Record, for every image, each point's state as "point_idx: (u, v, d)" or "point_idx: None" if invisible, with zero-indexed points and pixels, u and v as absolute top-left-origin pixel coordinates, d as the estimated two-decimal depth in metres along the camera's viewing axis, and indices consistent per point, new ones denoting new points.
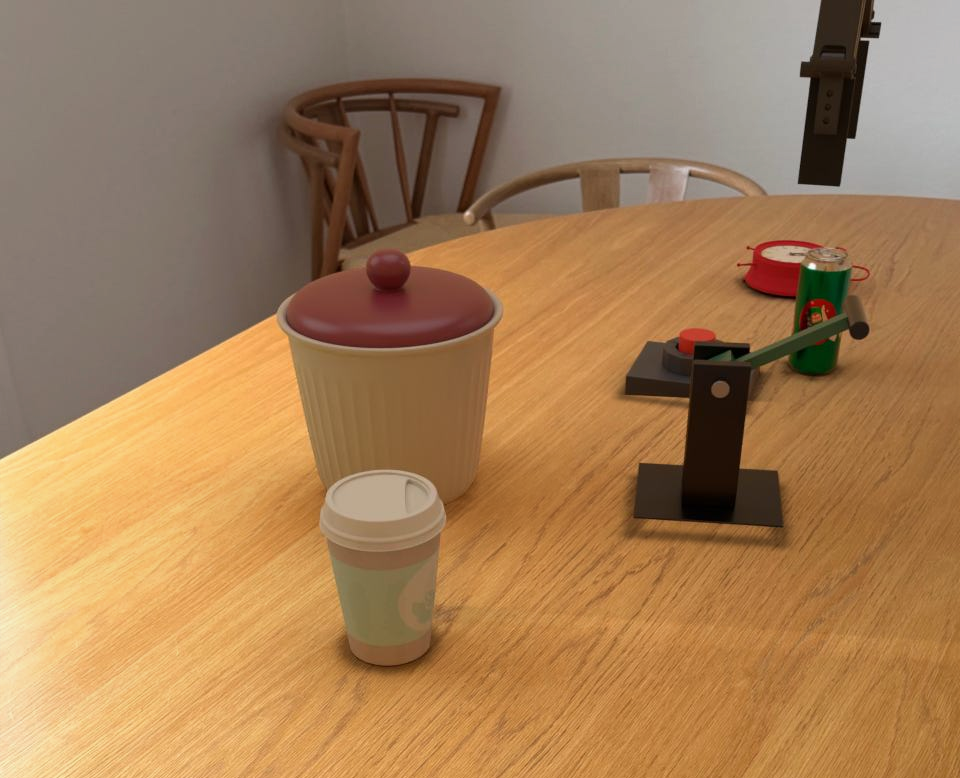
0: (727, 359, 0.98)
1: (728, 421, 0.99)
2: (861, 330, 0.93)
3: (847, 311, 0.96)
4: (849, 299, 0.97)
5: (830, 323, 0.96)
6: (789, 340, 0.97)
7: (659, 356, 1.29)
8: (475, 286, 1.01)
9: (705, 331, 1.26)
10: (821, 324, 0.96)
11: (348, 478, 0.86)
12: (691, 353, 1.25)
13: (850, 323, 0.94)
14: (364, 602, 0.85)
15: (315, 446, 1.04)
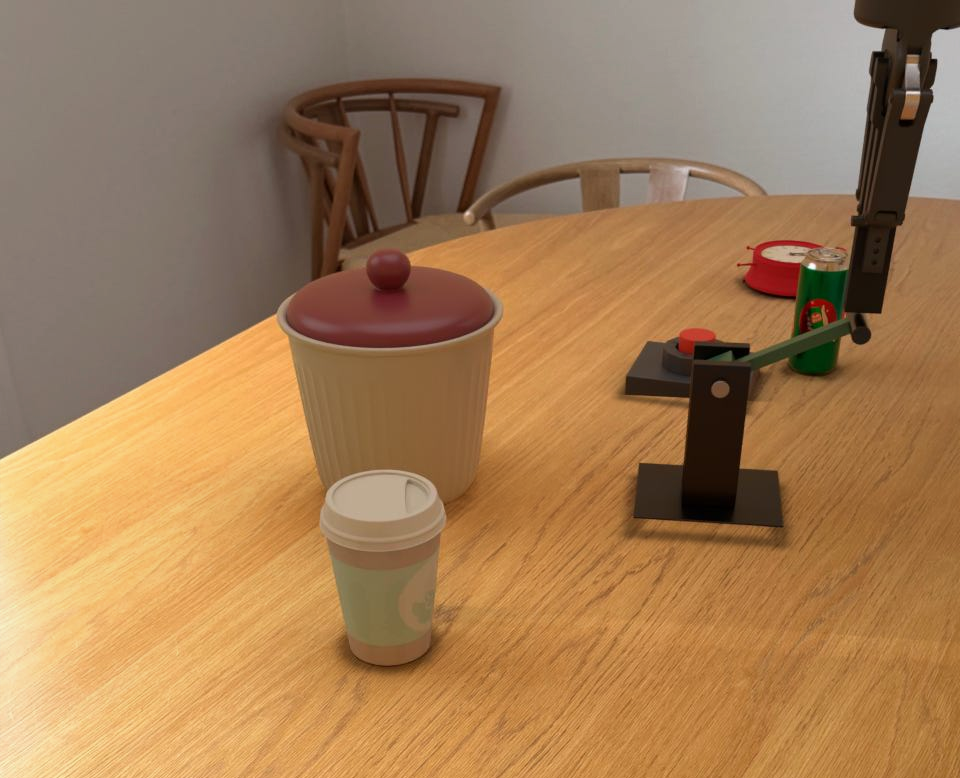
0: (728, 359, 0.98)
1: (728, 421, 0.99)
2: (863, 335, 0.93)
3: (849, 316, 0.96)
4: None
5: (832, 327, 0.96)
6: (790, 342, 0.97)
7: (659, 356, 1.29)
8: (475, 286, 1.01)
9: (705, 331, 1.26)
10: (823, 328, 0.97)
11: (348, 478, 0.86)
12: (691, 353, 1.25)
13: (852, 328, 0.94)
14: (364, 602, 0.85)
15: (315, 446, 1.04)
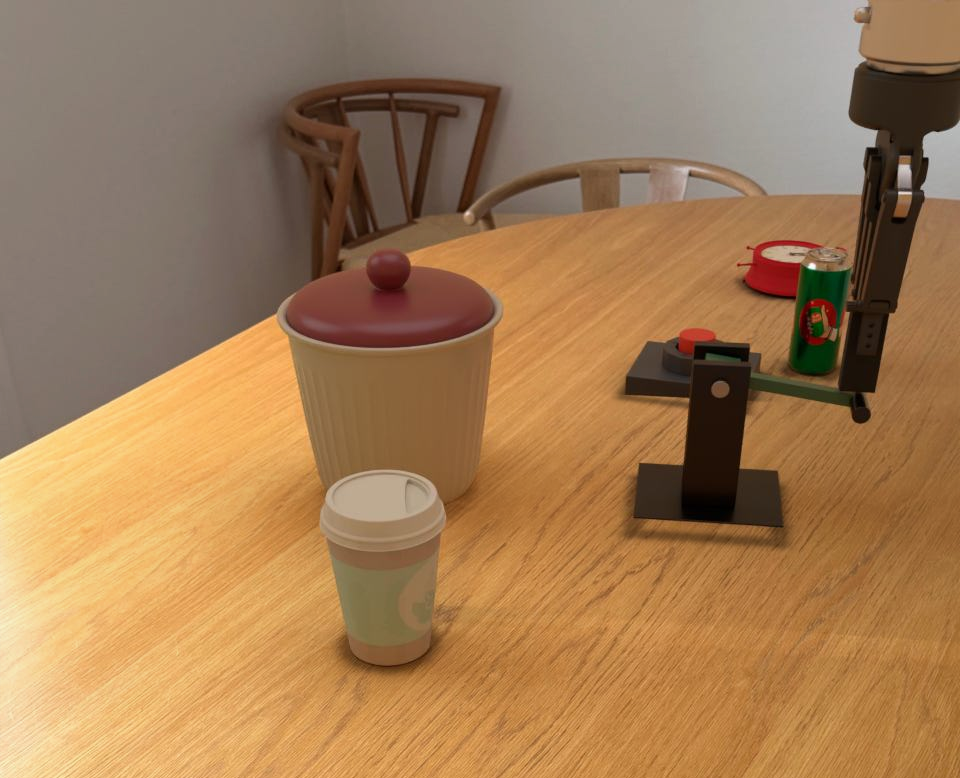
0: None
1: (728, 421, 0.99)
2: (863, 416, 0.97)
3: None
4: None
5: (836, 392, 0.99)
6: (795, 384, 0.99)
7: (659, 356, 1.29)
8: (475, 286, 1.01)
9: (705, 331, 1.26)
10: (828, 387, 0.99)
11: (348, 478, 0.86)
12: (691, 353, 1.25)
13: (857, 404, 0.97)
14: (364, 602, 0.85)
15: (315, 446, 1.04)
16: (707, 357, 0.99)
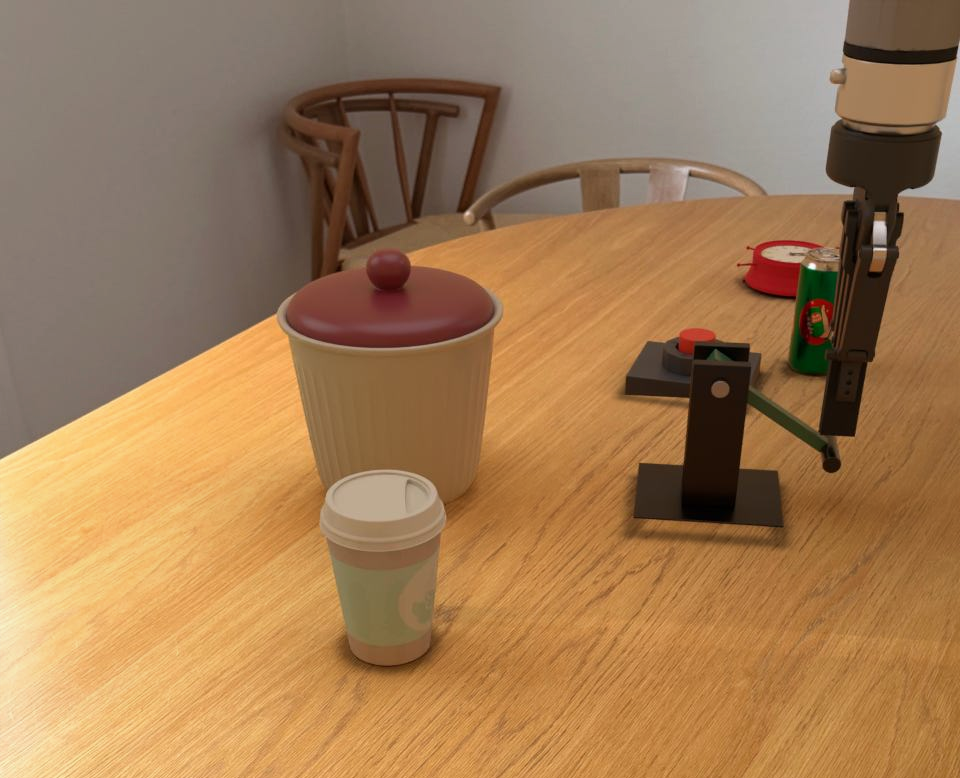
0: None
1: (728, 421, 0.99)
2: (833, 466, 1.00)
3: (829, 439, 1.02)
4: None
5: (815, 434, 1.01)
6: (783, 412, 1.00)
7: (659, 356, 1.29)
8: (475, 286, 1.01)
9: (705, 331, 1.26)
10: (808, 427, 1.01)
11: (348, 478, 0.86)
12: (691, 353, 1.25)
13: (831, 453, 1.00)
14: (364, 602, 0.85)
15: (315, 446, 1.04)
16: (716, 353, 0.99)
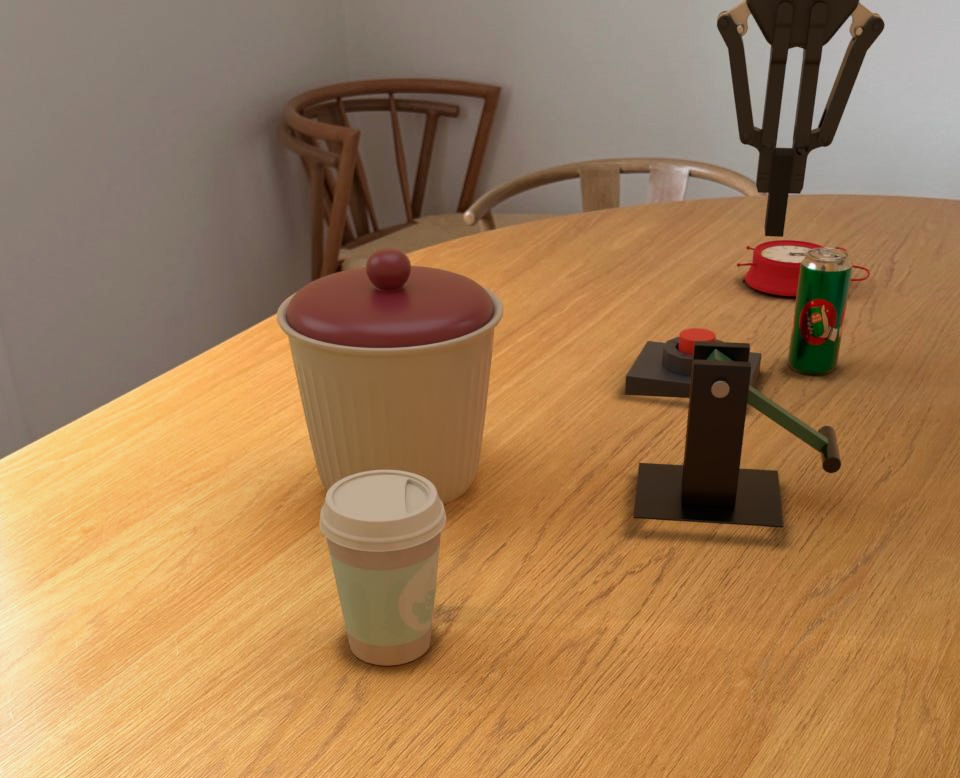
0: None
1: (728, 421, 0.99)
2: (833, 466, 1.00)
3: (829, 439, 1.02)
4: (832, 431, 1.03)
5: (815, 434, 1.01)
6: (783, 412, 1.00)
7: (659, 356, 1.29)
8: (475, 286, 1.01)
9: (705, 331, 1.26)
10: (808, 427, 1.01)
11: (348, 478, 0.86)
12: (691, 353, 1.25)
13: (831, 453, 1.00)
14: (364, 602, 0.85)
15: (315, 446, 1.04)
16: (716, 353, 0.99)
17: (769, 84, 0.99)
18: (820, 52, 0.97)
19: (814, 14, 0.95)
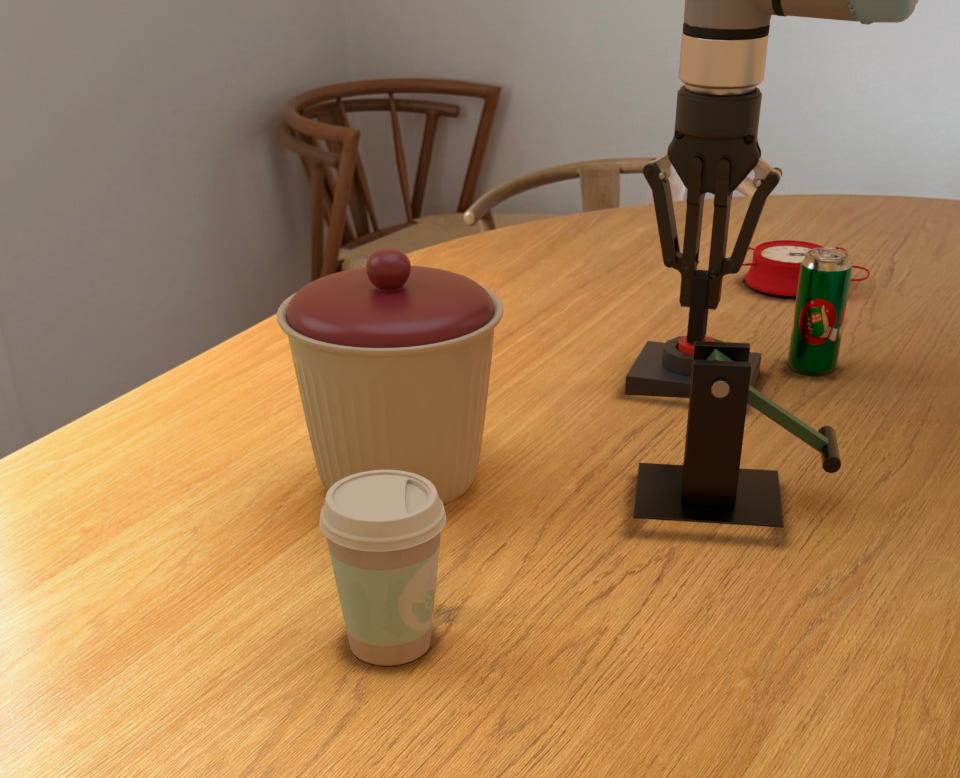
0: None
1: (728, 421, 0.99)
2: (833, 466, 1.00)
3: (829, 439, 1.02)
4: (832, 431, 1.03)
5: (815, 434, 1.01)
6: (783, 412, 1.00)
7: (659, 356, 1.29)
8: (475, 286, 1.01)
9: None
10: (808, 427, 1.01)
11: (348, 478, 0.86)
12: None
13: (831, 453, 1.00)
14: (364, 602, 0.85)
15: (315, 446, 1.04)
16: (716, 353, 0.99)
17: (686, 221, 1.19)
18: (725, 198, 1.16)
19: (719, 168, 1.14)
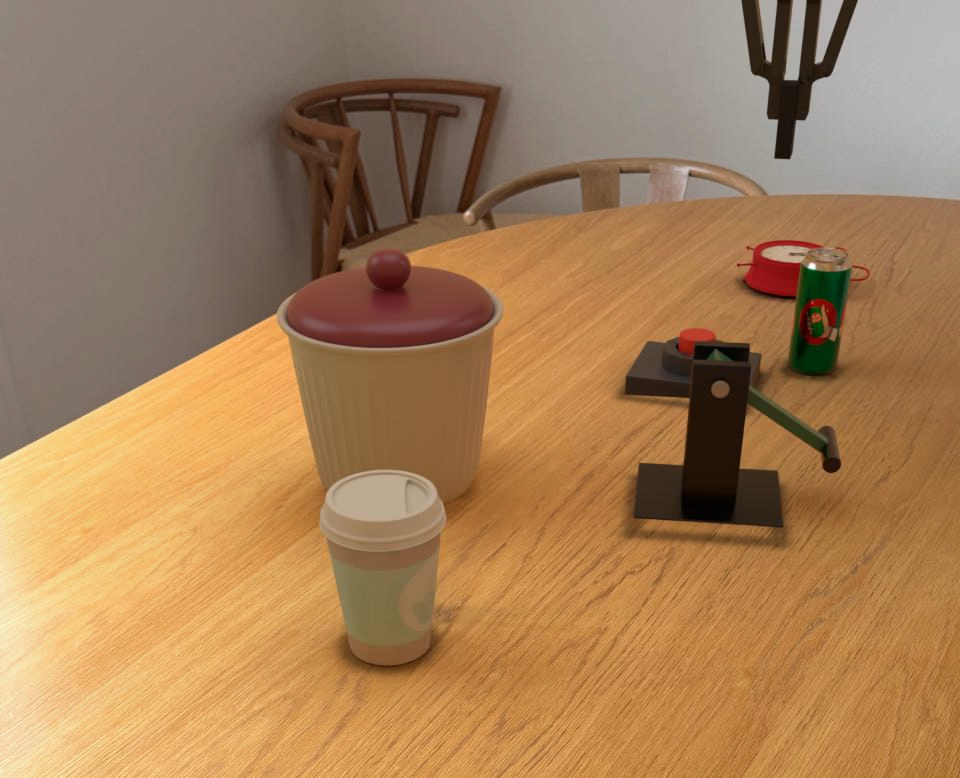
0: None
1: (728, 421, 0.99)
2: (833, 466, 1.00)
3: (829, 439, 1.02)
4: (832, 431, 1.03)
5: (815, 434, 1.01)
6: (783, 412, 1.00)
7: (659, 356, 1.29)
8: (475, 286, 1.01)
9: (705, 331, 1.26)
10: (808, 427, 1.01)
11: (348, 478, 0.86)
12: (691, 353, 1.25)
13: (831, 453, 1.00)
14: (364, 602, 0.85)
15: (315, 446, 1.04)
16: (716, 353, 0.99)
17: (776, 21, 1.13)
18: None
19: None
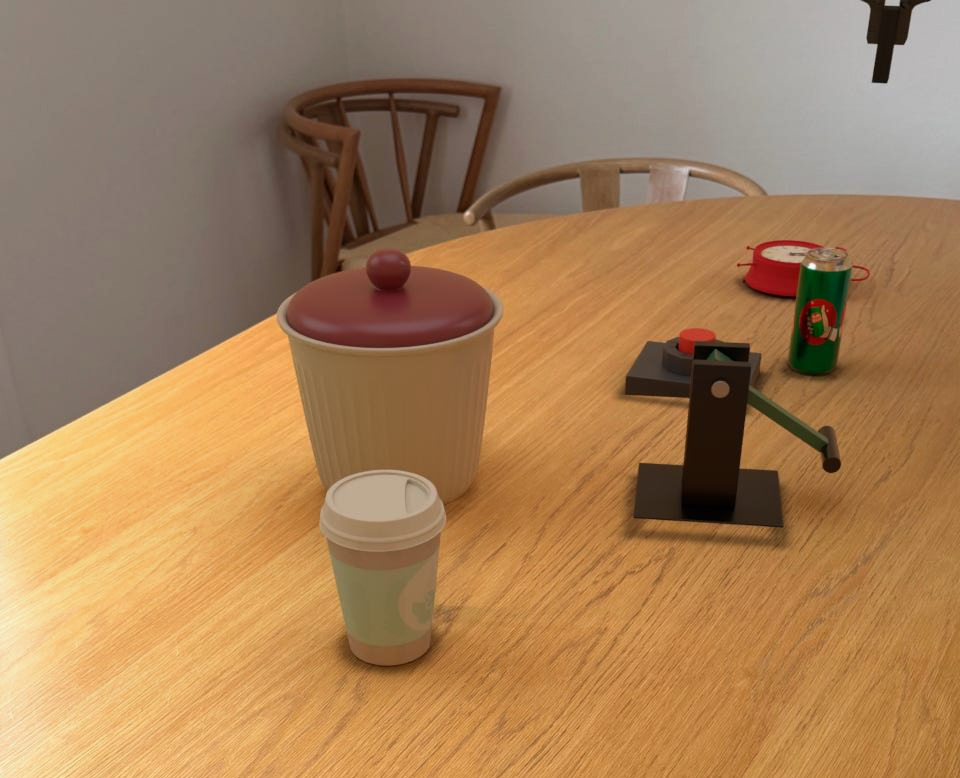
0: None
1: (728, 421, 0.99)
2: (833, 466, 1.00)
3: (829, 439, 1.02)
4: (832, 431, 1.03)
5: (815, 434, 1.01)
6: (783, 412, 1.00)
7: (659, 356, 1.29)
8: (475, 286, 1.01)
9: (705, 331, 1.26)
10: (808, 427, 1.01)
11: (348, 478, 0.86)
12: (691, 353, 1.25)
13: (831, 453, 1.00)
14: (364, 602, 0.85)
15: (315, 446, 1.04)
16: (716, 353, 0.99)
17: None
18: None
19: None
